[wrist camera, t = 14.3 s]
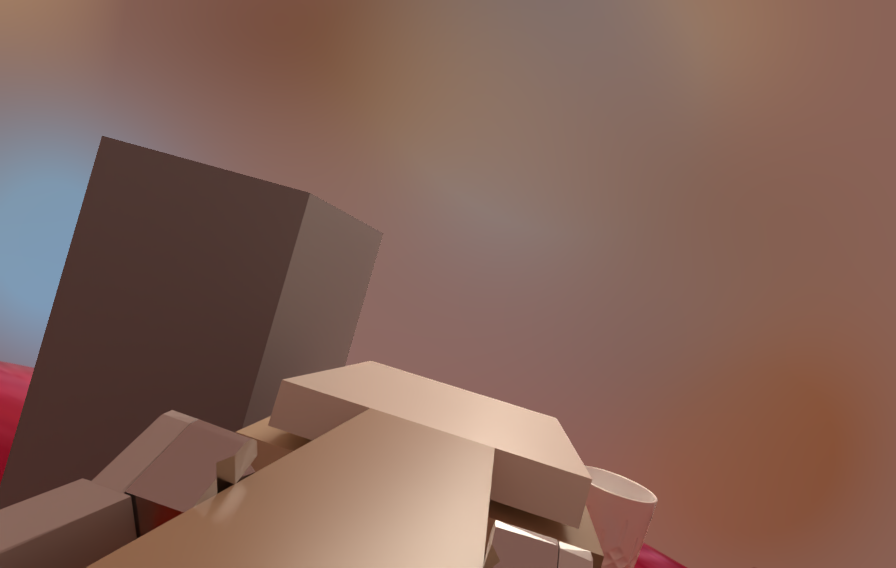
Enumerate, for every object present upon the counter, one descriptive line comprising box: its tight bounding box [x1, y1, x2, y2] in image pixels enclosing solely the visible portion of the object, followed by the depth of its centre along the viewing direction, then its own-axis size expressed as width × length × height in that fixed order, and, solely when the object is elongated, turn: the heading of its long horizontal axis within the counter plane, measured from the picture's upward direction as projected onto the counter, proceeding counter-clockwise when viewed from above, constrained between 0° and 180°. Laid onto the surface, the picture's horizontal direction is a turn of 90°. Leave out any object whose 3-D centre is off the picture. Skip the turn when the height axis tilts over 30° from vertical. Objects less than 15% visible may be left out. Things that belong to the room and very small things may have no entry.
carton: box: [0, 136, 383, 509], centre depth 37 cm, size 12×16×26 cm
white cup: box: [585, 466, 657, 568], centre depth 53 cm, size 8×8×10 cm
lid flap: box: [86, 361, 592, 568], centre depth 17 cm, size 10×25×2 cm, turn 173°
